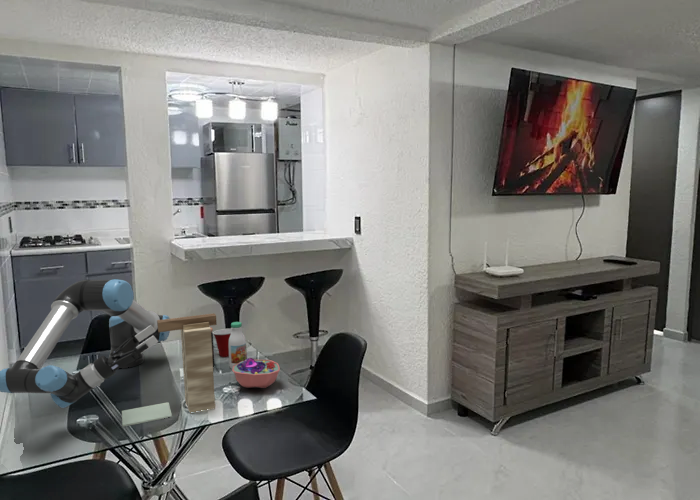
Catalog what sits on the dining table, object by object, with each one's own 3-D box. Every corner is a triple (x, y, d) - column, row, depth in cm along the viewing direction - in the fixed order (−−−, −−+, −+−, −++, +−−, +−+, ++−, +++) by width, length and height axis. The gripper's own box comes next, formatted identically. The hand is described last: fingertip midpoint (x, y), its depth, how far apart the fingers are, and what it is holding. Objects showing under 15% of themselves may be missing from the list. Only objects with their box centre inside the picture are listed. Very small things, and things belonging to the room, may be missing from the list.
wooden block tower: (185, 400, 195) (180, 319, 190) (209, 396, 199) (205, 316, 194) (189, 413, 184) (184, 328, 180) (215, 408, 188) (210, 324, 183)
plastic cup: (231, 349, 252) (230, 325, 250) (241, 355, 244) (240, 330, 242) (210, 354, 245) (208, 330, 244) (219, 360, 237) (218, 335, 235)
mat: (121, 412, 186) (121, 410, 186) (168, 403, 192) (168, 402, 192) (122, 426, 175) (122, 425, 175) (172, 417, 182) (171, 415, 182)
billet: (157, 329, 183) (157, 320, 183) (214, 322, 192) (214, 313, 191) (158, 332, 180) (157, 322, 180) (216, 324, 189) (216, 315, 188)
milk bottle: (225, 368, 227) (223, 324, 224) (236, 362, 234) (234, 319, 231) (240, 370, 224) (238, 326, 221) (250, 364, 231) (248, 321, 228)
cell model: (263, 399, 195) (262, 370, 194) (223, 389, 205) (222, 362, 203) (289, 383, 210) (289, 356, 208) (251, 374, 220) (250, 349, 218)
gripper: (106, 367, 187) (158, 331, 193) (105, 393, 165) (163, 352, 171) (93, 351, 185) (146, 316, 191) (90, 375, 162) (150, 334, 168)
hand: (154, 333), depth 181 cm, fingers open, 13 cm apart
